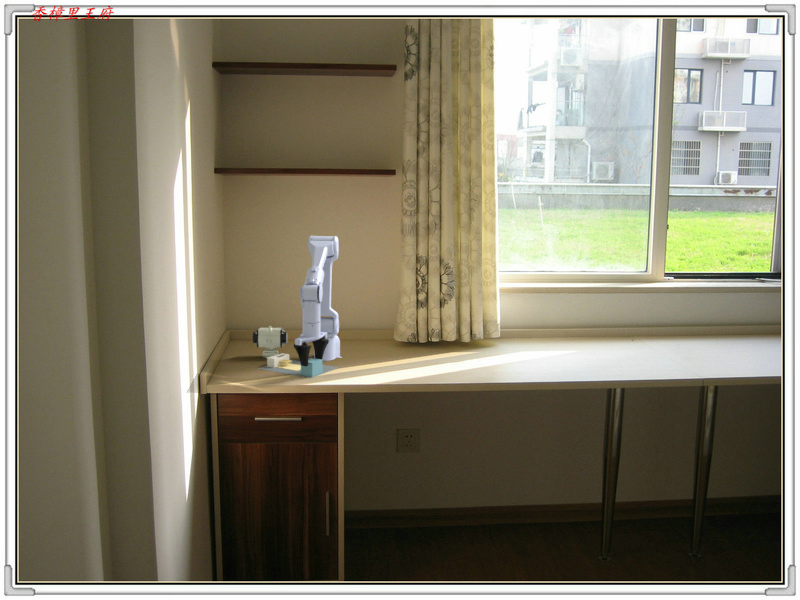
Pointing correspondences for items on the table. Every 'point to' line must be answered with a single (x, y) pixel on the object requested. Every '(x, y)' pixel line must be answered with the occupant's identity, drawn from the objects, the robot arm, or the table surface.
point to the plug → (312, 368)
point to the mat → (295, 368)
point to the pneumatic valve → (270, 339)
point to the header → (278, 360)
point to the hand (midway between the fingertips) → (311, 363)
